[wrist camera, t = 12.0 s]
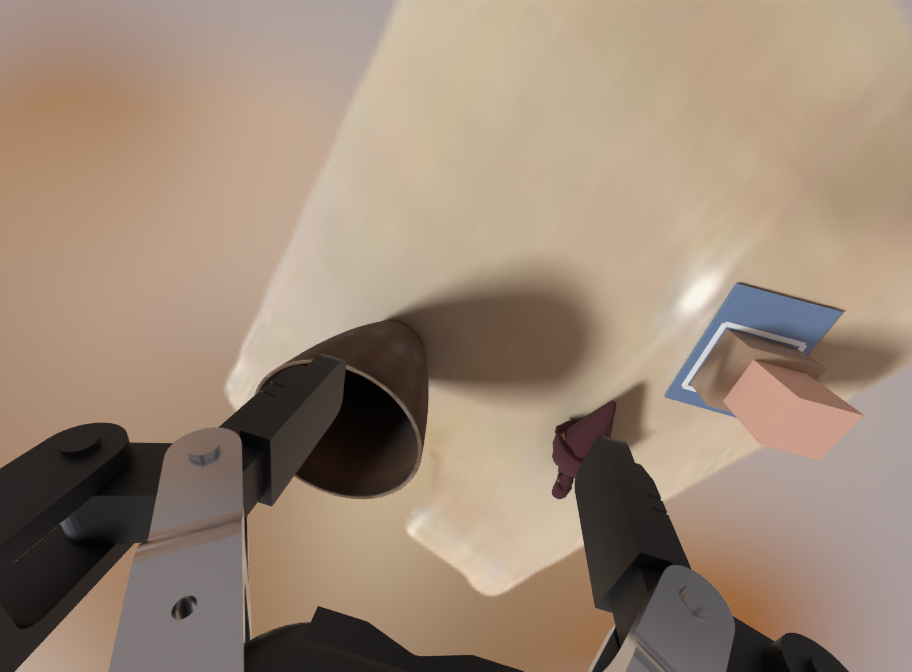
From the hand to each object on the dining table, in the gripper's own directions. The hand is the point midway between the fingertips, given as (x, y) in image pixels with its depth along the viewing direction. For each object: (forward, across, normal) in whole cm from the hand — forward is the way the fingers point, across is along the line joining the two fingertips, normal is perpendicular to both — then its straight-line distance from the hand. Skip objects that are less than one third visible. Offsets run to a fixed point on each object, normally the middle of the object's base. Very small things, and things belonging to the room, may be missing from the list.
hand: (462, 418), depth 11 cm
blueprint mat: (+28, -28, +5) cm, 40 cm away
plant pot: (+28, +9, +16) cm, 34 cm away
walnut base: (+28, -28, +6) cm, 40 cm away
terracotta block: (+24, -28, +6) cm, 37 cm away
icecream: (+28, -16, +20) cm, 38 cm away
